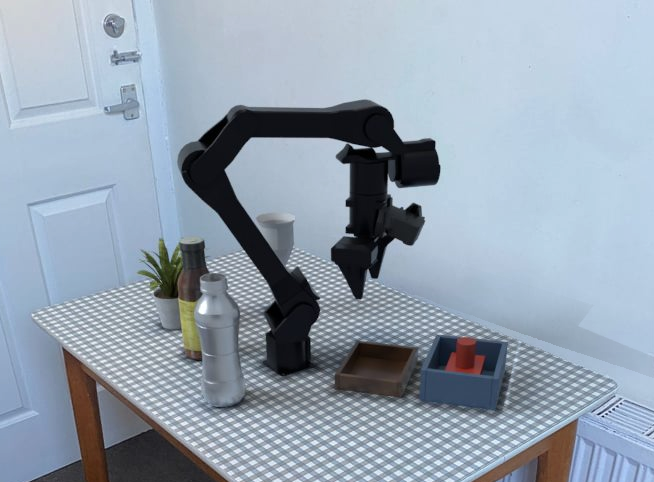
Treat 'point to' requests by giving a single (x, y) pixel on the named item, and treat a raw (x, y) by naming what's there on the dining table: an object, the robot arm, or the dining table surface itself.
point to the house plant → (166, 285)
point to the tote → (463, 375)
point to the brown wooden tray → (377, 369)
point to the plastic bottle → (219, 342)
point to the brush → (466, 358)
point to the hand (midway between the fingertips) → (366, 288)
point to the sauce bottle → (191, 292)
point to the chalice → (278, 233)
